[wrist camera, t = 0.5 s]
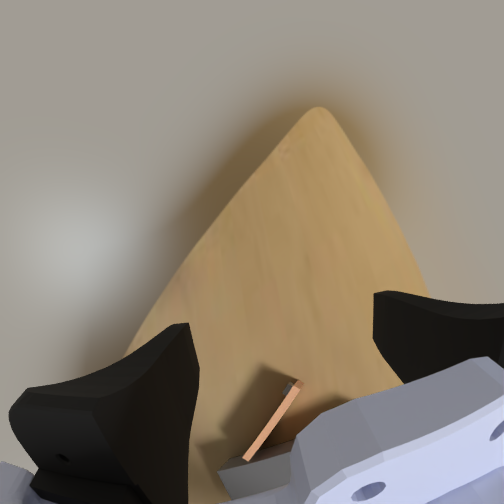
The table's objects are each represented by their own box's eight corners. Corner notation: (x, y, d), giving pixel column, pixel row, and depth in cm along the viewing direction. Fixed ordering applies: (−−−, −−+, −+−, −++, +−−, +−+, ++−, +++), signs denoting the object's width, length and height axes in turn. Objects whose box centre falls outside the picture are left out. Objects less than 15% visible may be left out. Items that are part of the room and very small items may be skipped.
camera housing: (392, 457, 27) (401, 476, 21) (253, 504, 29) (239, 526, 23) (371, 406, 29) (379, 420, 24) (229, 458, 31) (212, 476, 26)
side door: (304, 383, 32) (300, 389, 28) (257, 449, 31) (248, 461, 27) (293, 377, 32) (288, 382, 28) (248, 443, 31) (237, 454, 27)
